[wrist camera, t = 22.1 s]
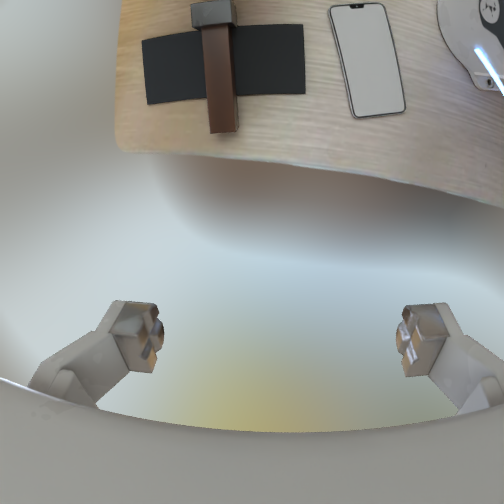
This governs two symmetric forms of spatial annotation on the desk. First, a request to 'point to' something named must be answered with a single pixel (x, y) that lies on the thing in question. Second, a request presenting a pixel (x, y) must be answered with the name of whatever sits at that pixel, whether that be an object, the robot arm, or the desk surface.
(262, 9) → the desk surface
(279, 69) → the mat
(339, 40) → the smartphone
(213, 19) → the walnut bar
